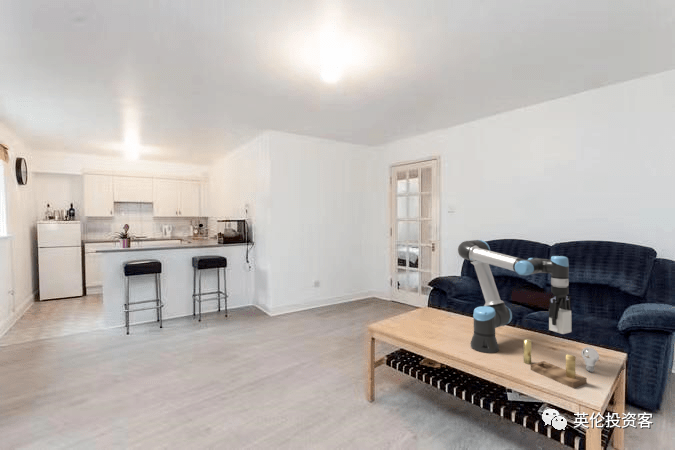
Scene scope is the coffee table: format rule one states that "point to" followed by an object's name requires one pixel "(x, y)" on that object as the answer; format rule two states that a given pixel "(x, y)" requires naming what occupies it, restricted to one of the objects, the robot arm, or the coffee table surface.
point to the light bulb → (590, 358)
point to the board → (561, 372)
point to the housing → (562, 321)
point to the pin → (527, 351)
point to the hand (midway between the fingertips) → (560, 329)
